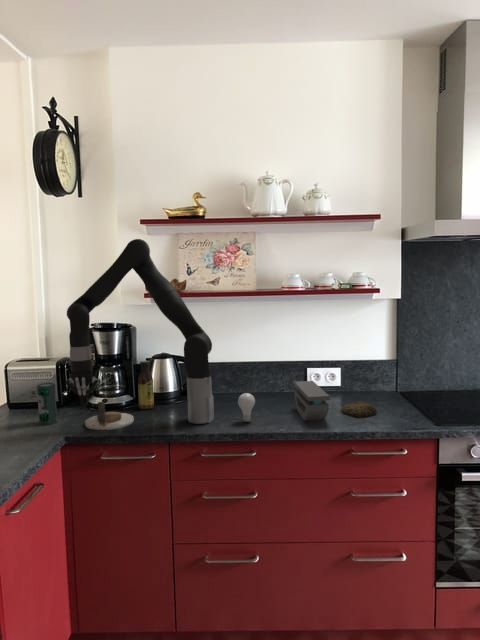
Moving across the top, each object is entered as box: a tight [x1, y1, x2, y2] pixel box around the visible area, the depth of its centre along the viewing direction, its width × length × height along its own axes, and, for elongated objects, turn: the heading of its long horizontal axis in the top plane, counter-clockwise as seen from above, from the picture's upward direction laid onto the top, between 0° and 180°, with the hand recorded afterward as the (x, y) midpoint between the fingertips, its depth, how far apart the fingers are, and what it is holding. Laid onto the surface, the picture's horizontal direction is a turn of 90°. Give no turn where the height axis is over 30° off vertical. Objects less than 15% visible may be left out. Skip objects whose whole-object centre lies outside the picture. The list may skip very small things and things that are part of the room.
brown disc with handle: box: [97, 401, 122, 425], centre depth 189 cm, size 14×9×8 cm, turn 176°
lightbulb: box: [237, 392, 256, 423], centre depth 188 cm, size 6×6×11 cm
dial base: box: [84, 412, 135, 431], centre depth 191 cm, size 18×18×2 cm
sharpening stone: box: [293, 380, 331, 422], centre depth 193 cm, size 25×8×11 cm, turn 6°
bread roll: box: [341, 400, 378, 419], centre depth 196 cm, size 13×12×5 cm
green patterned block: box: [36, 382, 58, 426], centre depth 193 cm, size 6×6×15 cm
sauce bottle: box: [137, 360, 155, 410], centre depth 210 cm, size 7×6×20 cm
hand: (84, 404), depth 184 cm, fingers closed
